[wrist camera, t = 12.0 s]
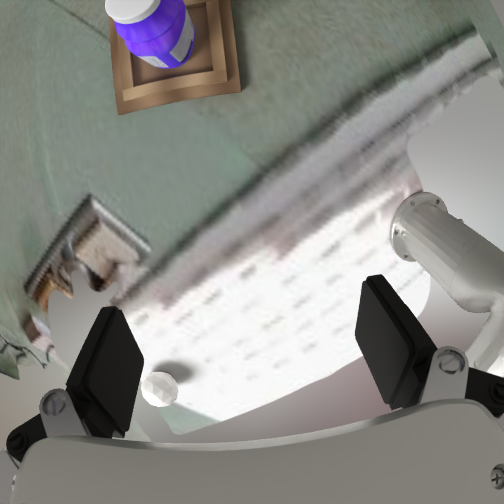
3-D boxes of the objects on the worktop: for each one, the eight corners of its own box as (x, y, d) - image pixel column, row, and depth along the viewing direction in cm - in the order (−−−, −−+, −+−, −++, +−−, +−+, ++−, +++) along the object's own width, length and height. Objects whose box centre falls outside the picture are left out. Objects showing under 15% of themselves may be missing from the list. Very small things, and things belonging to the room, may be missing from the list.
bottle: (157, 20, 26) (106, -34, 10) (200, 20, 26) (178, -42, 11) (147, 70, 29) (84, 44, 13) (190, 71, 30) (157, 38, 14)
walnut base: (228, -11, 25) (228, -19, 23) (240, 92, 33) (241, 90, 30) (112, 14, 25) (105, 9, 23) (122, 114, 32) (114, 115, 30)
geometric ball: (157, 361, 57) (144, 368, 49) (188, 380, 57) (179, 390, 49) (143, 387, 56) (129, 397, 48) (173, 406, 55) (163, 419, 48)
